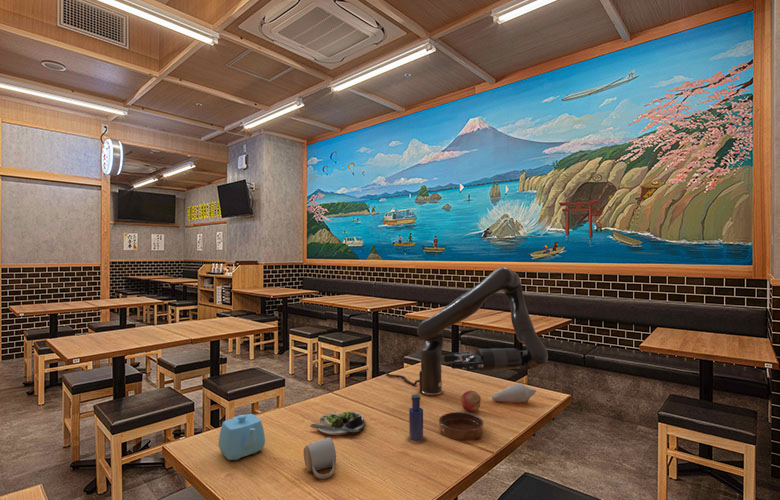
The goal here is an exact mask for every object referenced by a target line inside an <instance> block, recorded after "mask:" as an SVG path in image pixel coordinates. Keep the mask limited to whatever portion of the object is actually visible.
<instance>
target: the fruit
mask: <svg viewBox="0 0 780 500" xmlns="http://www.w3.org/2000/svg"><path fill="white" fill-rule="evenodd" d="M481 398H482V397H481V395H480V394H479V393H478V392H477V391H476V390H475V391H474V390H467V391H464V392H463V394H462V395H461V397H460V404H461V407H462V408H463V409H464V410H466V411H467V412H469V413H474V412H477V411H478V410H479V409H480V407H481V401H482V399H481Z"/></svg>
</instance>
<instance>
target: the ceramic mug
mask: <svg viewBox="0 0 780 500" xmlns="http://www.w3.org/2000/svg"><path fill="white" fill-rule="evenodd" d="M303 461H304V466H305V468H306V470H307V471H308V472H313V474H314V476H315V477H316V478H317V479H320V480H326V479H329V478H330V477H332V475H333V474H334V471H335V466H336V464H337V452H336V447H335V444H334V441H333V439H332V438H331V436H329V437H326V438H322V439H320V440H316V441H315V442H311V443H309V444H307V445H305V446H304V447H303ZM331 467H332V468H331ZM329 468H331V469H330V471H329V472H328V473H326V474H321V473H318V471H319V470H324V469H329Z"/></svg>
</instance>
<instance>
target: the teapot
mask: <svg viewBox="0 0 780 500" xmlns="http://www.w3.org/2000/svg"><path fill="white" fill-rule="evenodd" d="M265 435H266V434H265V430H264V426H263V422H262V420H261V419H260V418H259V417H258V416H257V415H255V414H253V413H247V414H240V415H236V416H233V417H232V418H229V419H227V420H224V421H222V424H221V427H220V431H219V437H218V447H219V450H220V452H221V454H222V455H223V456H224V457H225V458H226V459H227V460H229V461H238V460H240V459H241V458H244V457H248V456H250V455H255V454H257V453H258V452H260V451H261V450H263V449H264V447H265V444H266V436H265Z"/></svg>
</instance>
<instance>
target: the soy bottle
mask: <svg viewBox="0 0 780 500" xmlns="http://www.w3.org/2000/svg"><path fill="white" fill-rule="evenodd" d="M424 437H425V436H424V409H423V408H422V407H421V395H420V394H411V407H409V409H408V438H409V440H411V441H414V442H419V441H422V440H424Z"/></svg>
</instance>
